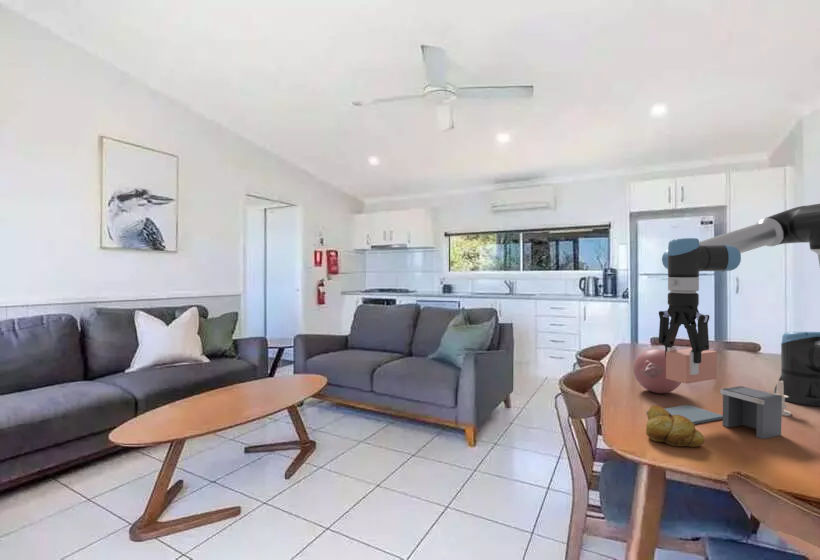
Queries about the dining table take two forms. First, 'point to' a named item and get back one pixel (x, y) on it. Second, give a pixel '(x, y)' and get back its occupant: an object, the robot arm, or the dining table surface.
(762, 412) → the box
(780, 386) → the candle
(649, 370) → the balloon
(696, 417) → the mat
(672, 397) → the dining table surface
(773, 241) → the robot arm
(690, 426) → the bread roll
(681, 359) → the salmon pink rectangular block
